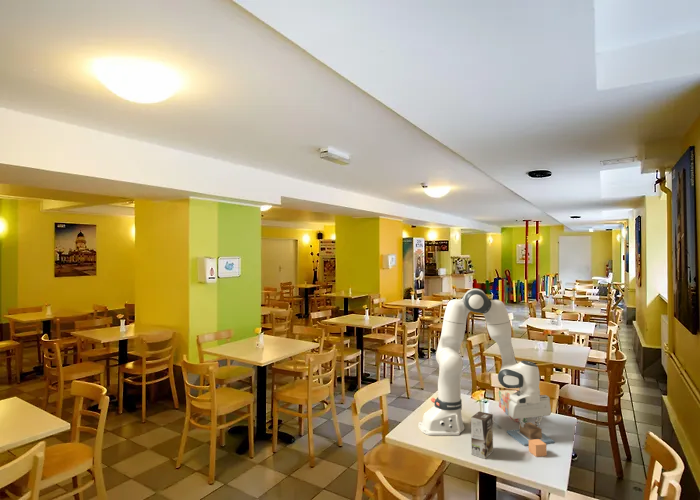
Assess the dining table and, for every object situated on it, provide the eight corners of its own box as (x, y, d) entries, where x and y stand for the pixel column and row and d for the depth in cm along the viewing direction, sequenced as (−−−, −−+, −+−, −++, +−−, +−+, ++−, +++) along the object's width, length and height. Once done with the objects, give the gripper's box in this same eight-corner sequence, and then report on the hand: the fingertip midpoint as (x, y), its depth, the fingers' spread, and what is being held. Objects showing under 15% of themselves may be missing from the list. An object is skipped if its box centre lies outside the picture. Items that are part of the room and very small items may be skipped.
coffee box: (485, 459, 168) (485, 420, 168) (470, 454, 172) (470, 416, 172) (493, 451, 175) (493, 414, 175) (479, 446, 179) (479, 410, 179)
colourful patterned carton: (498, 406, 227) (498, 384, 227) (509, 406, 227) (509, 384, 227) (514, 422, 205) (514, 398, 205) (526, 422, 205) (526, 398, 205)
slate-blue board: (524, 446, 179) (524, 443, 179) (506, 432, 193) (506, 430, 193) (554, 443, 182) (554, 440, 182) (534, 429, 196) (534, 427, 196)
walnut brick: (530, 439, 183) (529, 430, 183) (519, 431, 191) (519, 423, 191) (541, 437, 184) (541, 429, 184) (530, 430, 192) (530, 422, 192)
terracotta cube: (535, 457, 170) (535, 445, 170) (528, 451, 175) (528, 439, 175) (546, 455, 171) (546, 444, 171) (539, 450, 176) (538, 438, 176)
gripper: (544, 392, 193) (545, 421, 193) (506, 395, 189) (506, 425, 189) (553, 396, 187) (554, 426, 187) (514, 400, 183) (514, 431, 183)
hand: (530, 426), depth 188 cm, fingers open, 6 cm apart
